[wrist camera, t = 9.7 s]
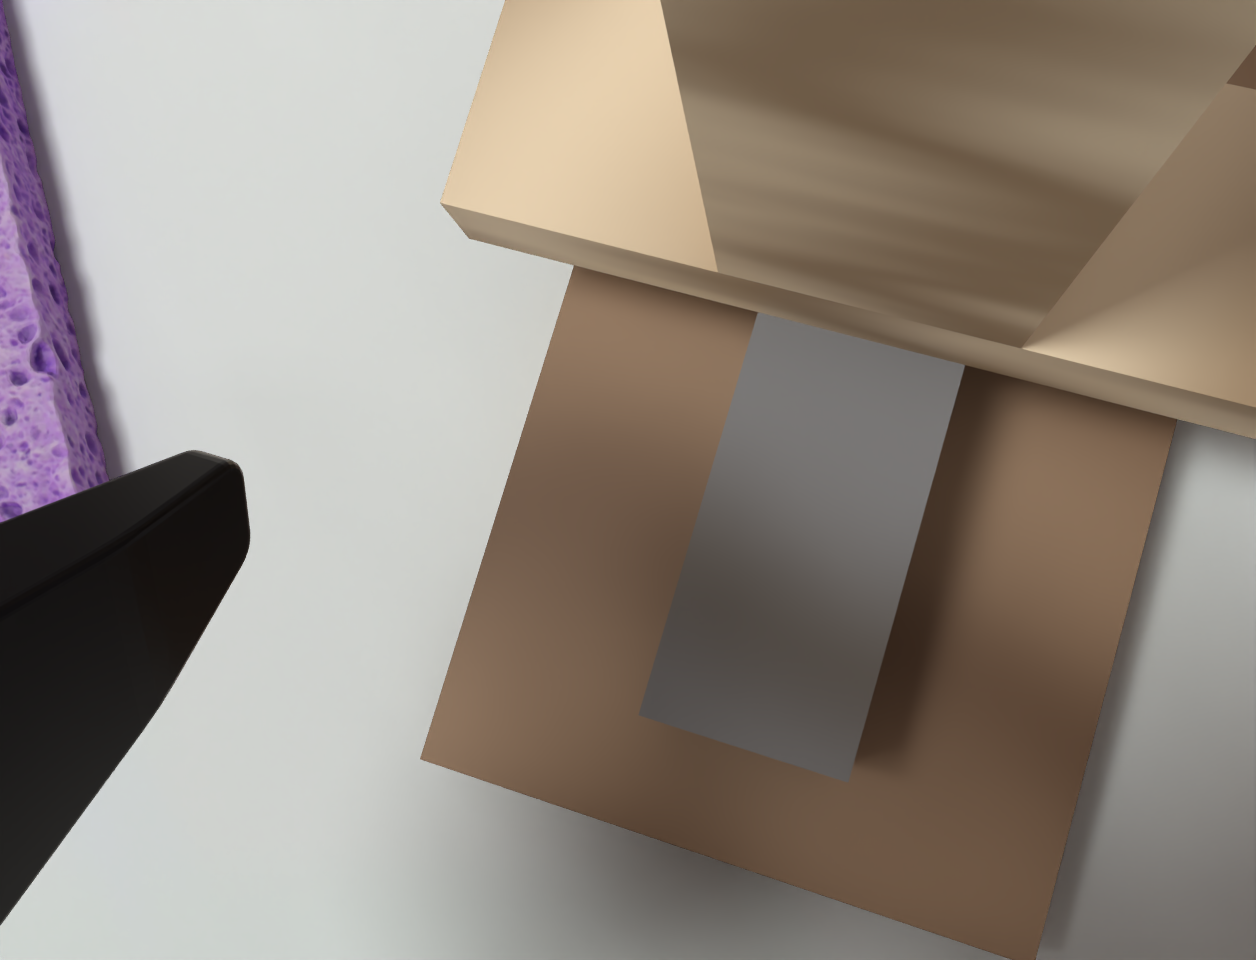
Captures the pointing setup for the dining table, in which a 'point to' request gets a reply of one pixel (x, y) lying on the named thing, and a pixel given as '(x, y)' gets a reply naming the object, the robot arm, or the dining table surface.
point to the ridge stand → (806, 604)
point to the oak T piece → (900, 175)
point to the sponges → (36, 333)
